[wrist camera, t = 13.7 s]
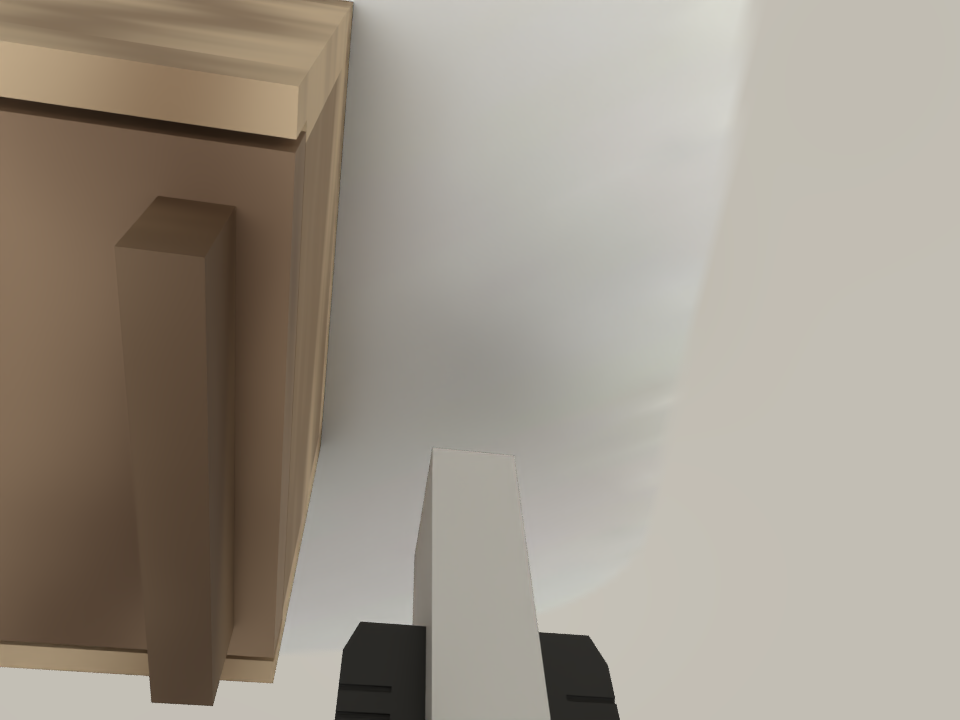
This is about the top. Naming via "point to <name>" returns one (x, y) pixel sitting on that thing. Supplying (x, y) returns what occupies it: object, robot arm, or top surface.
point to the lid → (146, 386)
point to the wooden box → (220, 104)
